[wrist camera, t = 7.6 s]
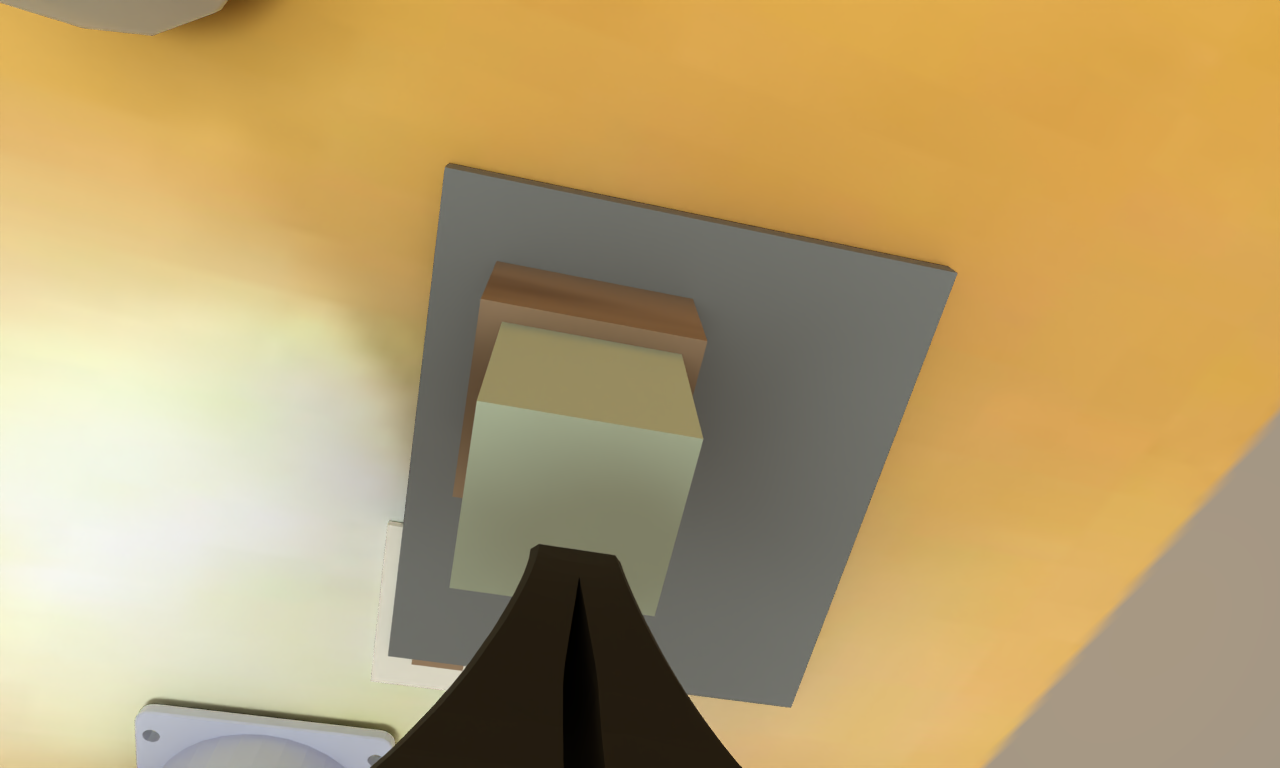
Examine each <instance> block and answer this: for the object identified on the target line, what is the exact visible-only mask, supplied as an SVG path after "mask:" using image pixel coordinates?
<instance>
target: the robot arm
mask: <svg viewBox="0 0 1280 768" xmlns="http://www.w3.org/2000/svg"><path fill="white" fill-rule="evenodd" d="M135 738H136V760H137V768H742V767H741V766H740V765H739V764H738V763H737V762H736V760H735V759H734V758H733V757H732V755H731V754H730V753H729V752H728V750H727V749H726V748H725V747H724V746H723V744H722V743H721V742H720V740H719V739H718V738H717V736H716V735H715V734H714V732H713V731H712V730H711V728H710V727H709V726H708V724H707V723H706V722H705V720H704V719H703V717H702V716H701V714H700V713H699V711H698V710H697V709H696V707H695V706H694V704H693V703H692V701H691V700H690V698H689V697H688V695H687V693H686V692H685V690H684V689H683V687H682V685H681V684H680V682H679V681H678V679H677V677H676V676H675V674H674V672H673V671H672V669H671V667H670V666H669V664H668V662H667V660H666V659H665V657H664V655H663V653H662V651H661V649H660V648H659V646H658V644H657V642H656V640H655V638H654V636H653V634H652V633H651V631H650V629H649V627H648V625H647V623H646V621H645V619H644V617H643V615H642V613H641V610H640V608H639V606H638V604H637V602H636V600H635V597H634V595H633V593H632V590H631V588H630V586H629V583H628V581H627V579H626V576H625V573H624V571H623V568H622V565H621V563H620V561H619V560H618V558H617V557H616V556H615V555H610V554H604V553H597V552H590V551H583V550H577V549H570V548H563V547H557V546H550V545H543V544H538V545H536V546H535V547H533V548H531V549H530V555H529V560H528V563H527V566H526V568H525V571H524V573H523V576H522V578H521V580H520V582H519V584H518V586H517V588H516V590H515V592H514V594H513V596H512V598H511V600H510V601H509V603H508V605H507V606H506V608H505V610H504V612H503V613H502V615H501V617H500V618H499V620H498V622H497V623H496V625H495V626H494V628H493V630H492V631H491V633H490V634H489V635H488V637H487V638H486V640H485V641H484V642H483V644H482V645H481V647H480V648H479V650H478V651H477V652H476V654H475V655H474V657H473V658H472V659H471V661H470V662H469V664H468V665H467V666H466V667H465V669H464V670H463V671H462V673H461V674H460V675H459V676H458V678H457V679H456V680H455V681H454V682H453V684H452V685H451V686H450V687H449V688H448V690H447V691H446V692H445V693H444V694H443V695H442V697H441V698H440V699H439V700H438V701H437V702H436V703H435V705H434V706H433V707H432V708H431V709H430V710H429V711H428V712H427V713H426V714H425V715H424V716H423V717H422V718H421V719H420V720H419V721H418V723H417V724H416V725H415V726H414V727H413V728H412V729H411V730H410V731H409V732H408V733H407V734H406V735H405V736H404V737H403V738H402V739H401V740H400V741H399V742H398V743H397V744H396V745H395V740H394V738H393V736H392V735H391V734H390V733H388V732H386V731H383V730H376V729H367V728H359V727H350V726H341V725H333V724H324V723H315V722H307V721H298V720H290V719H281V718H272V717H264V716H255V715H247V714H238V713H229V712H221V711H212V710H203V709H195V708H186V707H178V706H169V705H160V704H149V705H146V706H144V707H143V708H142V709H141V710H140V711H139V713H138V714H137V716H136V718H135ZM374 755H378V756H381V757H377V756H374Z"/></svg>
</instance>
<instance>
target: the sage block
mask: <svg viewBox="0 0 1280 768" xmlns="http://www.w3.org/2000/svg"><path fill="white" fill-rule="evenodd" d="M702 442H703V435H702V431H701V428H700V424H699V420H698V416H697V412H696V408H695V404H694V400H693V396H692V392H691V388H690V384H689V381H688V377H687V373H686V369H685V365H684V361H683V357H682V354H677V353H671V352H666V351H660V350H655V349H649V348H644V347H638V346H633V345H627V344H622V343H616V342H611V341H605V340H600V339H594V338H589V337H583V336H578V335H573V334H567V333H562V332H556V331H551V330H545V329H540V328H534V327H529V326H523V325H518V324H512V323H507V322H502V323H501V326H500V329H499V333H498V336H497V339H496V342H495V345H494V348H493V351H492V355H491V358H490V361H489V364H488V367H487V370H486V373H485V377H484V380H483V383H482V386H481V389H480V392H479V395H478V399H477V403H476V410H475V416H474V423H473V430H472V437H471V444H470V451H469V457H468V464H467V471H466V478H465V485H464V491H463V498H462V505H461V512H460V519H459V525H458V532H457V539H456V546H455V553H454V559H453V566H452V573H451V580H450V587H449V588H454V589H461V590H468V591H475V592H482V593H490V594H497V595H504V596H511V597H512V596H513V594H514V592H515V590H516V588H517V586H518V584H519V582H520V580H521V578H522V576H523V573H524V571H525V568H526V566H527V563H528V560H529V555H530V549H531V548H533V547H535V546H536V545H538V544H543V545H550V546H557V547H563V548H570V549H577V550H583V551H590V552H597V553H604V554H610V555H615V556H616V557H617V558H618V560H619V561H620V563H621V565H622V568H623V571H624V573H625V576H626V579H627V581H628V583H629V586H630V588H631V590H632V593H633V595H634V597H635V600H636V602H637V604H638V606H639V608H640V610H641V613H642V615H649V616H655V613H656V609H657V606H658V602H659V598H660V595H661V591H662V587H663V584H664V580H665V577H666V573H667V569H668V566H669V562H670V558H671V555H672V551H673V548H674V544H675V540H676V537H677V533H678V529H679V526H680V522H681V519H682V515H683V511H684V508H685V504H686V500H687V497H688V493H689V490H690V486H691V482H692V479H693V475H694V471H695V468H696V464H697V460H698V457H699V453H700V450H701V446H702Z"/></svg>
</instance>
